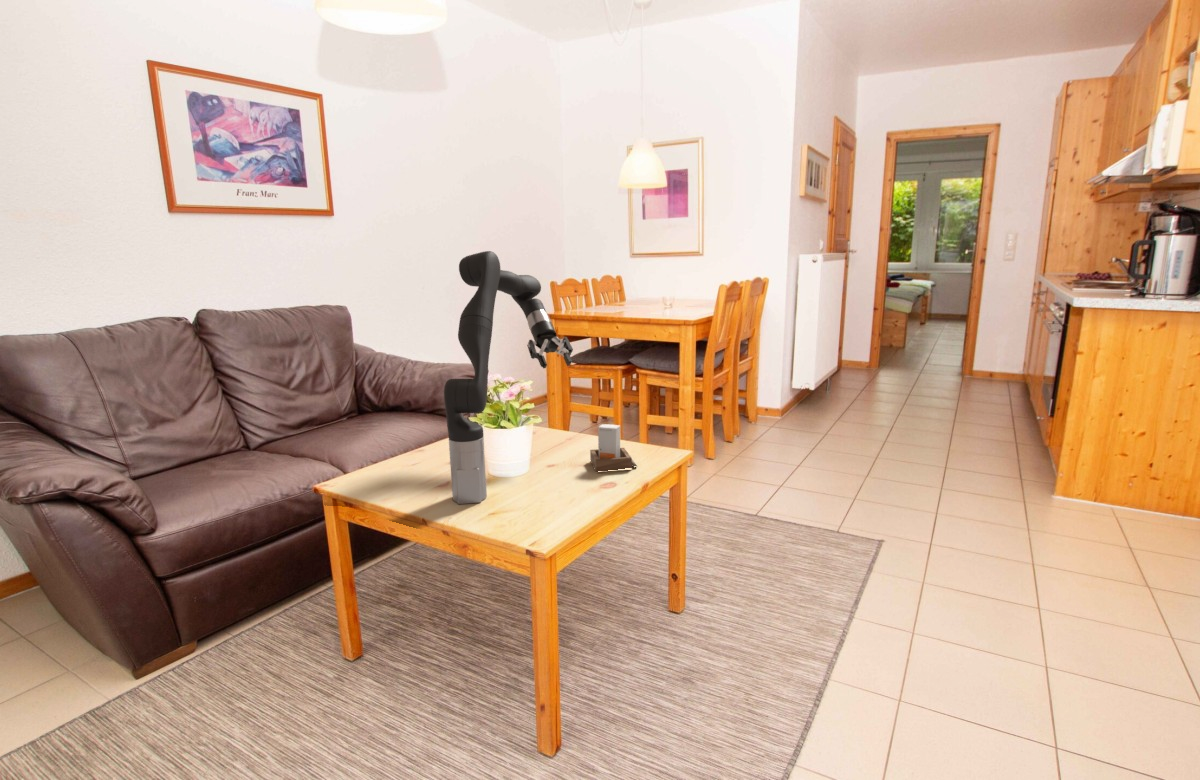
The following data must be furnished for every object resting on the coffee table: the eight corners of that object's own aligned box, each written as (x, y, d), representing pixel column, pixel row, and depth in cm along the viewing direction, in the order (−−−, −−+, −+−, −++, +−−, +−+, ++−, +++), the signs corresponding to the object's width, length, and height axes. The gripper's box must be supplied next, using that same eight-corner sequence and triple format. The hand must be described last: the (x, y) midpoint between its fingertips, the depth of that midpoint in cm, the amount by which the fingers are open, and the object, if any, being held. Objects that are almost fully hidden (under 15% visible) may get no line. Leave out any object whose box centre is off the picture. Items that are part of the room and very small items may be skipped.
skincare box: (598, 464, 197) (597, 426, 194) (602, 459, 201) (602, 423, 198) (616, 465, 195) (616, 428, 192) (620, 461, 199) (620, 424, 196)
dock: (638, 469, 194) (638, 457, 193) (596, 472, 192) (596, 460, 191) (630, 458, 204) (630, 447, 204) (590, 461, 202) (590, 449, 201)
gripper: (524, 320, 203) (540, 360, 195) (563, 318, 209) (580, 356, 202) (518, 335, 208) (534, 374, 201) (557, 332, 215) (573, 370, 208)
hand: (557, 365), depth 201 cm, fingers open, 8 cm apart
